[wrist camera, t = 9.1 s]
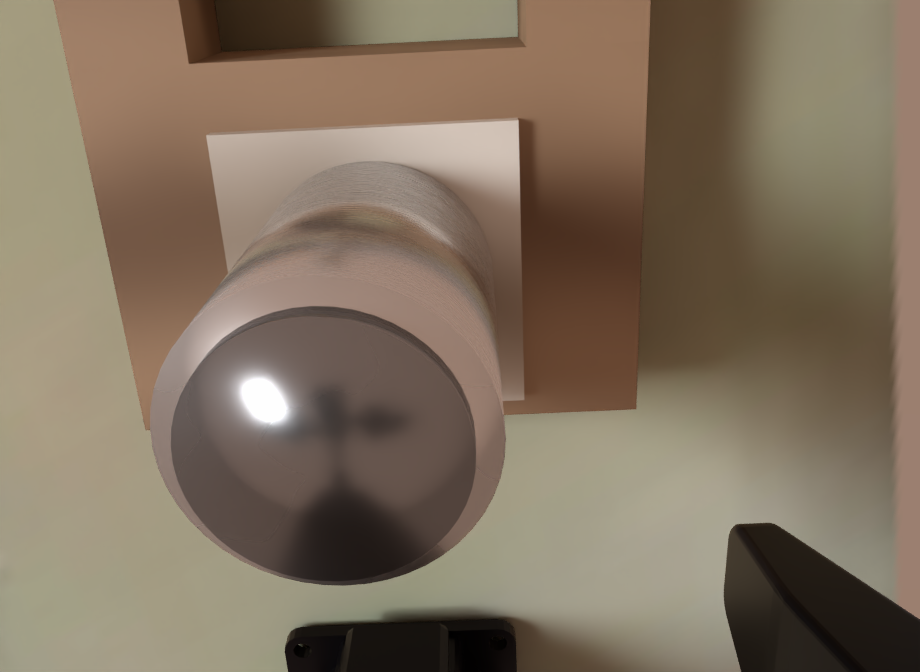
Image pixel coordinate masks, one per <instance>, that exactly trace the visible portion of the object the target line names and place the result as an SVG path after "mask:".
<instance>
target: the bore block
mask: <svg viewBox="0 0 920 672" xmlns="http://www.w3.org/2000/svg"><path fill="white" fill-rule="evenodd" d="M53 1H54V5H55V10H56V15H57V19H58V24H59V29H60V33H61V38H62V42H63V47H64V52H65V56H66V61H67V66H68V70H69V75H70V80H71V84H72V89H73V94H74V98H75V103H76V108H77V112H78V117H79V122H80V126H81V131H82V136H83V140H84V145H85V150H86V154H87V159H88V164H89V168H90V173H91V178H92V182H93V187H94V192H95V196H96V201H97V206H98V210H99V215H100V219H101V224H102V229H103V233H104V238H105V243H106V247H107V252H108V257H109V261H110V266H111V271H112V275H113V280H114V285H115V289H116V294H117V299H118V303H119V308H120V313H121V317H122V322H123V327H124V331H125V336H126V341H127V345H128V350H129V355H130V359H131V364H132V369H133V373H134V378H135V383H136V387H137V392H138V396H139V401H140V406H141V410H142V415H143V420H144V424H145V429H146V430H150V408H151V402H152V396H153V390H154V386H155V383H156V380H157V377H158V374H159V372H160V369H161V367H162V365H163V363H164V361H165V359H166V357H167V355H168V353H169V351H170V350H171V348H172V347H173V345H174V344H175V343H176V341H177V340H178V339H179V337H180V336H181V335H182V333H183V332H184V331H185V329H186V328H187V327H188V325H189V324H190V323H191V321H192V320H193V319H194V318H195V316H196V315H197V314H198V312H199V311H200V310H201V308H202V307H203V306H204V304H205V303H206V302H207V300H208V299H209V298H210V296H211V295H212V294H213V292H214V291H215V290H216V288H217V287H218V286H219V284H220V283H221V282H222V281H223V279H224V278H225V277H226V275H227V274H228V273H229V271H230V270H231V269H232V267H233V266H234V265H235V263H236V262H237V261H238V259H239V258H240V257H241V255H242V254H243V253H244V251H245V250H246V249H247V247H248V246H249V245H250V243H251V242H252V241H253V240H254V238H255V237H256V236H257V234H258V233H259V232H260V230H261V229H262V228H263V226H264V225H265V224H266V222H267V221H268V220H269V218H270V217H271V216H272V214H273V213H274V212H275V210H276V209H277V208H278V206H279V205H280V204H281V203H282V201H283V200H284V199H285V198H286V197H287V196H288V195H289V194H290V193H291V192H292V191H293V190H294V189H295V188H296V187H298V186H299V185H300V184H302V183H303V182H304V181H306V180H307V179H309V178H311V177H313V176H314V175H316V174H318V173H320V172H322V171H325V170H327V169H330V168H332V167H335V166H339V165H344V164H348V163H354V162H364V161H375V162H387V163H394V164H399V165H403V166H406V167H409V168H413V169H416V170H418V171H420V172H422V173H425V174H427V175H429V176H431V177H432V178H434V179H436V180H437V181H439V182H441V183H442V184H444V185H445V186H446V187H447V188H449V189H450V190H451V191H453V192H454V193H455V194H456V195H457V196H458V197H459V198H460V199H461V200H462V201H463V202H464V203H465V204H466V205H467V207H468V208H469V209H470V211H471V212H472V214H473V215H474V216H475V218H476V219H477V221H478V223H479V225H480V227H481V228H482V230H483V233H484V235H485V238H486V240H487V243H488V246H489V250H490V254H491V259H492V268H493V279H494V292H495V305H496V318H497V332H498V345H499V358H500V371H501V384H502V397H503V410H504V415H511V414H534V413H557V412H581V411H604V410H627V409H636V399H637V371H638V342H639V314H640V286H641V258H642V229H643V201H644V173H645V145H646V116H647V88H648V60H649V31H650V3H651V0H517V2H518V37H507V38H487V39H467V40H448V41H428V42H408V43H388V44H368V45H348V46H328V47H308V48H289V49H269V50H249V51H229V52H222V51H221V44H220V37H219V30H218V24H217V17H216V10H215V3H214V0H53Z"/></svg>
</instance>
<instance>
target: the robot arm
mask: <svg viewBox="0 0 920 672" xmlns="http://www.w3.org/2000/svg"><path fill="white" fill-rule="evenodd" d="M724 604H725V610H726V615H727V619H728V623H729V627H730V631H731V634H732V638H733V642H734V646H735V650H736V653H737V657H738V661H739V665H740V669H741V672H920V619H918V618H917V617H915V616H914V615H912V614H911V613H909V612H908V611H906V610H905V609H903V608H902V607H900V606H899V605H897V604H896V603H894V602H893V601H891V600H890V599H888V598H887V597H885V596H883V595H882V594H880V593H879V592H877V591H876V590H874V589H873V588H871V587H870V586H868V585H867V584H865V583H864V582H862V581H861V580H859V579H858V578H856V577H855V576H853V575H852V574H850V573H849V572H847V571H846V570H844V569H843V568H841V567H840V566H838V565H837V564H835V563H834V562H832V561H831V560H829V559H828V558H826V557H824V556H823V555H821V554H820V553H818V552H817V551H815V550H814V549H812V548H811V547H809V546H808V545H806V544H805V543H803V542H802V541H800V540H799V539H797V538H796V537H794V536H793V535H791V534H790V533H788V532H787V531H785V530H784V529H782V528H781V527H779V526H777V525H775V524H772V523H753V524H737V525H735V526H734V527H733V528H732V529H731V531H730V534H729V539H728V549H727V560H726V571H725V582H724ZM496 636H501V637H503V639H501V640H493V639H492V638H493V637H496ZM298 644H306V645H308V646H309V647H307V648H304V647H300V646H299V645H298ZM285 655H286V661H287V668H288V672H517V666H516V639H515V631H514V627H513V626H512V625H511V624H510V623H509V622H507V621H505V620H499V619H491V620H466V621H441V622H415V623H390V624H364V625H339V626H313V627H300V628H296V629H294V630H293V631H291V632H290V634H289V635H288V638H287V642H286V646H285Z"/></svg>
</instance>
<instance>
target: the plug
mask: <svg viewBox="0 0 920 672" xmlns="http://www.w3.org/2000/svg"><path fill="white" fill-rule="evenodd" d="M150 432H151V439H152V447H153V451H154V455H155V458H156V462H157V465H158V469H159V471H160V473H161V475H162V478H163V480H164V482H165V484H166V487H167V488H168V490H169V492H170V493H171V495H172V497H173V498H174V500H175V502H176V503H177V505H178V506H179V507H180V509H181V510H182V511H183V512H184V514H185V515H186V516H187V517H188V519H189V520H190V521H191V522H192V523H193V524H194V525H195V526H196V527H197V528H198V529H199V530H200V531H201V532H202V533H203V534H204V535H205V536H206V537H208V538H209V539H210V540H211V541H213V542H214V543H215V544H216V545H218V546H219V547H220V548H222V549H223V550H225V551H226V552H228V553H230V554H231V555H233V556H234V557H236V558H238V559H239V560H241V561H243V562H245V563H247V564H249V565H251V566H253V567H256V568H258V569H260V570H262V571H265V572H268V573H271V574H274V575H277V576H279V577H283V578H287V579H291V580H296V581H300V582H306V583H313V584H321V585H356V584H367V583H372V582H378V581H383V580H388V579H391V578H394V577H397V576H401V575H404V574H407V573H409V572H411V571H414V570H416V569H418V568H421V567H423V566H425V565H427V564H429V563H430V562H432V561H434V560H435V559H437V558H439V557H440V556H442V555H444V554H445V553H446V552H447V551H449V550H450V549H451V548H453V547H454V546H455V545H456V544H458V543H459V542H460V541H461V540H462V539H463V538H464V537H465V536H466V535H467V534H468V533H469V532H470V531H471V530H472V529H473V527H474V526H475V525H476V523H477V522H478V521H479V519H480V518H481V517H482V515H483V514H484V513H485V511H486V509H487V507H488V505H489V504H490V502H491V500H492V498H493V496H494V494H495V491H496V488H497V486H498V483H499V480H500V478H501V473H502V468H503V463H504V458H505V441H506V436H505V423H504V410H503V397H502V384H501V371H500V358H499V345H498V332H497V318H496V305H495V292H494V279H493V268H492V259H491V254H490V250H489V246H488V243H487V240H486V238H485V235H484V233H483V230H482V228H481V227H480V225H479V223H478V221H477V219H476V218H475V216H474V215H473V214H472V212H471V211H470V209H469V208H468V207H467V205H466V204H465V203H464V202H463V201H462V200H461V199H460V198H459V197H458V196H457V195H456V194H455V193H454V192H453V191H451V190H450V189H449V188H447V187H446V186H445V185H444V184H442V183H441V182H439V181H437V180H436V179H434V178H432V177H431V176H429V175H427V174H425V173H422V172H420V171H418V170H416V169H413V168H409V167H406V166H403V165H399V164H394V163H387V162H375V161H364V162H354V163H348V164H344V165H339V166H335V167H332V168H330V169H327V170H325V171H322V172H320V173H318V174H316V175H314V176H313V177H311V178H309V179H307V180H306V181H304V182H303V183H302V184H300V185H299V186H298V187H296V188H295V189H294V190H293V191H292V192H291V193H290V194H289V195H288V196H287V197H286V198H285V199H284V200H283V201H282V203H281V204H280V205H279V206H278V208H277V209H276V210H275V212H274V213H273V214H272V216H271V217H270V218H269V220H268V221H267V222H266V224H265V225H264V226H263V228H262V229H261V230H260V232H259V233H258V234H257V236H256V237H255V238H254V240H253V241H252V242H251V243H250V245H249V246H248V247H247V249H246V250H245V251H244V253H243V254H242V255H241V257H240V258H239V259H238V261H237V262H236V263H235V265H234V266H233V267H232V269H231V270H230V271H229V273H228V274H227V275H226V277H225V278H224V279H223V281H222V282H221V283H220V284H219V286H218V287H217V288H216V290H215V291H214V292H213V294H212V295H211V296H210V298H209V299H208V300H207V302H206V303H205V304H204V306H203V307H202V308H201V310H200V311H199V312H198V314H197V315H196V316H195V318H194V319H193V320H192V321H191V323H190V324H189V325H188V327H187V328H186V329H185V331H184V332H183V333H182V335H181V336H180V337H179V339H178V340H177V341H176V343H175V344H174V345H173V347H172V348H171V350H170V351H169V353H168V355H167V357H166V359H165V361H164V363H163V365H162V367H161V369H160V372H159V374H158V377H157V380H156V383H155V386H154V390H153V396H152V402H151V408H150Z"/></svg>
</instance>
